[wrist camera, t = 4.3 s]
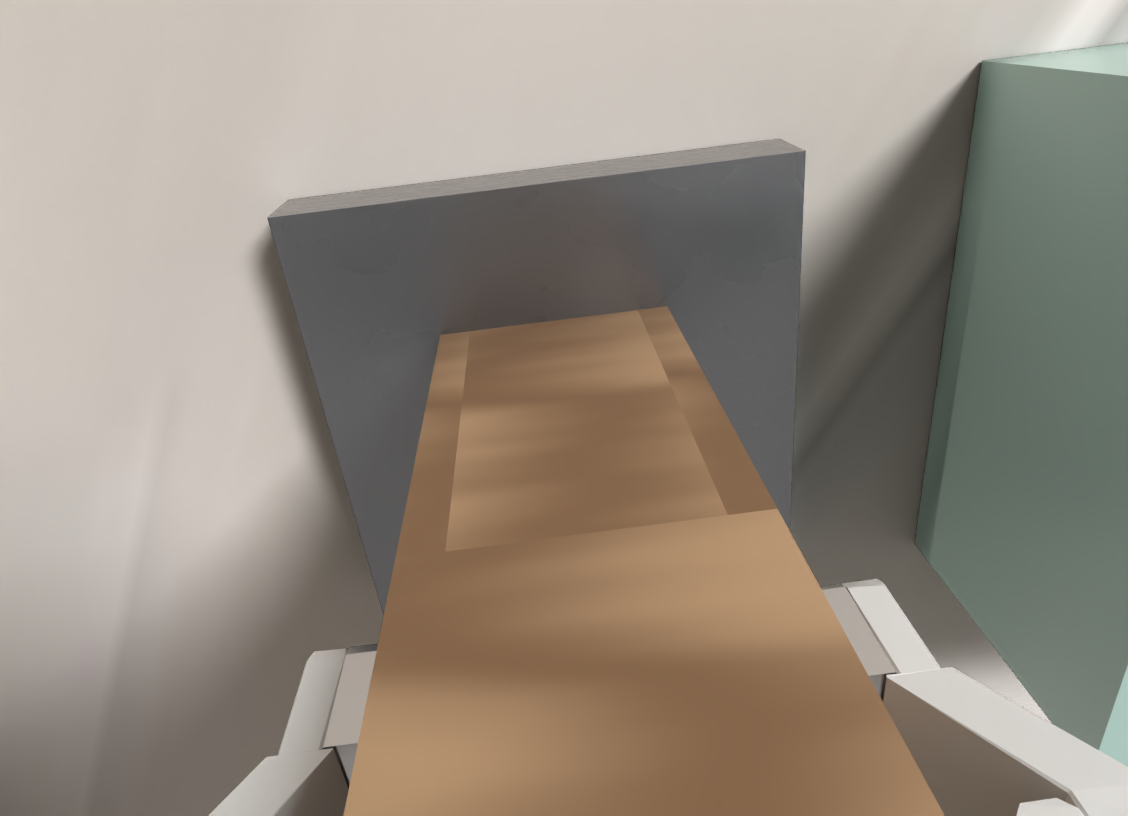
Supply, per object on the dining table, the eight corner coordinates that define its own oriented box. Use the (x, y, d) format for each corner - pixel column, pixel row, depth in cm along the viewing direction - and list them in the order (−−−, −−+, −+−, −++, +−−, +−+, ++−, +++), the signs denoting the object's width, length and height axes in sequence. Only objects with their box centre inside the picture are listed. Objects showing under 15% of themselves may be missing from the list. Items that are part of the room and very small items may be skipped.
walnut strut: (477, 519, 17) (431, 1320, 7) (440, 335, 15) (288, 1086, 5) (676, 494, 17) (941, 1249, 7) (667, 306, 15) (1035, 984, 5)
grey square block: (393, 581, 20) (337, 866, 13) (288, 199, 15) (120, 346, 9) (769, 533, 20) (899, 791, 13) (779, 138, 15) (989, 236, 9)
